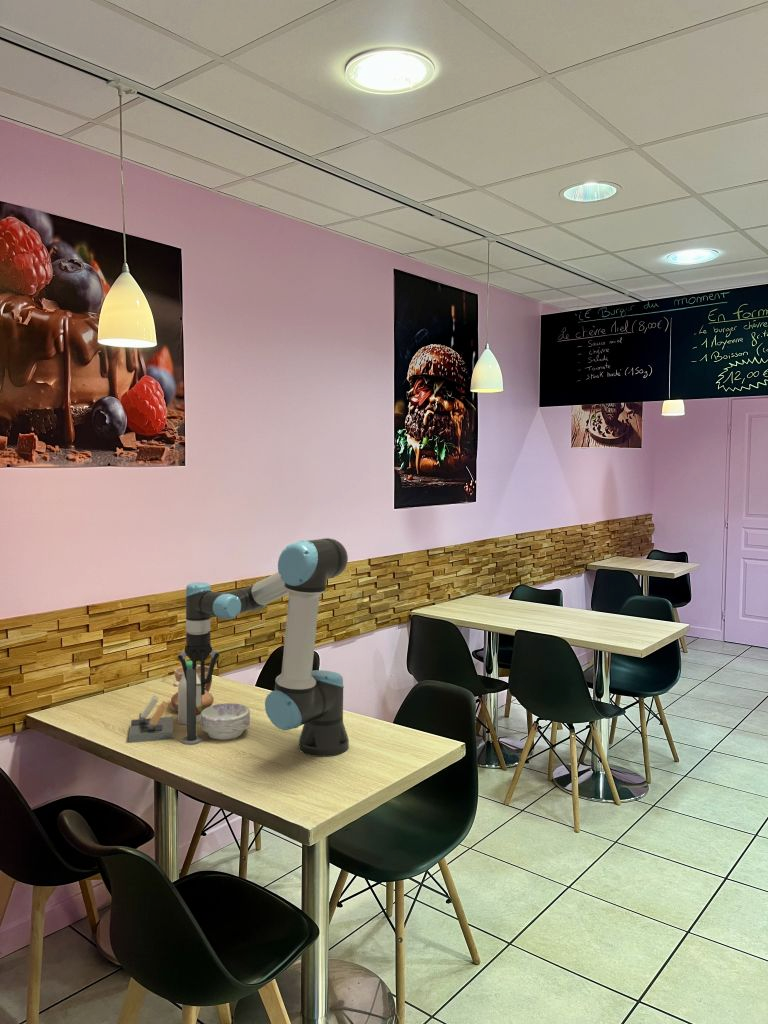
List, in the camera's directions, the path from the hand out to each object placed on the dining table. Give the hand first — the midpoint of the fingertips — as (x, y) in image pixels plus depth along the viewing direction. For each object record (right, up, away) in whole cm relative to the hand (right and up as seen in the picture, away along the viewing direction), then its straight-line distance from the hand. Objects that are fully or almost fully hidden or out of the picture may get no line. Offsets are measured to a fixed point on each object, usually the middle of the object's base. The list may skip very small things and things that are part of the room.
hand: (198, 704), depth 241 cm
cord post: (0, -9, -7) cm, 12 cm away
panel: (-15, -9, 0) cm, 17 cm away
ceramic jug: (-8, -7, +24) cm, 26 cm away
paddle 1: (-19, -5, +2) cm, 19 cm away
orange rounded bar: (-14, -5, -4) cm, 15 cm away
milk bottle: (-5, -8, +10) cm, 14 cm away
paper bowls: (+9, -9, -2) cm, 13 cm away
